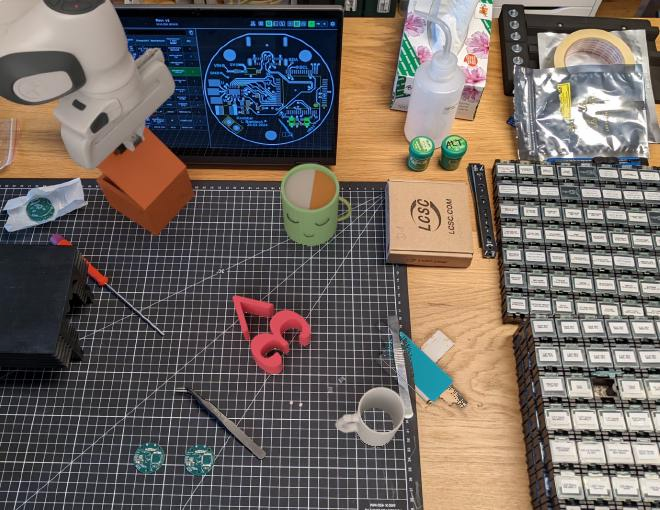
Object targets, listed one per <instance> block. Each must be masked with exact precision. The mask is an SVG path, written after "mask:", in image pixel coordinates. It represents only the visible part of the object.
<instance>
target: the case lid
mask: <svg viewBox="0 0 660 510" xmlns="http://www.w3.org/2000/svg"><path fill="white" fill-rule="evenodd" d="M143 136H144V138H145V140H144V141H143V142H142V143H141V144H140V145H139V146H138V147H137V148H136V149H135V150H134V151H131V150H129V149H127V148H126V147H125V145H124V144H123V143H121V144H120V145H119V146H118V147H117V148H116V149H115V150H114V151H113V152H112V153H111V154H110V155H109V156H108V157H107V158H106V159H105V160H104V161H103V162H101V163H100V164H99V165H98V166H97V167H96V168H97V169H98V170H100V172H102V174H103V173H104V174H105V175H106V176H107V177H108V178H109V179H111V180H112V181H113V182H114V183H115V184H116V185H117V186H118V187H119V188H120V189H121V190H122V191H124V192H125V193H126V194H127V195H128V196H129V197H130V198H131V199H132V200H133V201H134V202H135V203H137V204H138V205H139V206H140V207H141V208H142V209H143V210H145V209H146V208H147V207H148V206H149V205H150V204H151V203H152V202H153V201H154V200H155V199H156V198H157V197H158V196H159V195H160V194H161V193H162V192H163V191H164V190H165V189H166V187H167V186H168V185H169V184H170V183H171V182H172V181H173V180H174V179H175V178H176V177H177V176H178V175H179V174H180V173H181V172H182V171H183V170H184V169H185V168H186V169H187V165H186V164H185V163H184V162H183V161H182V160H181V159H180V158H179V157H177V156H176V154H175V153H173V152H172V150H170V148H168V146H166V144H164V143H163V142H162V140H160V139H159V137H158V136H156V135H155V133H153V132H152V131H151V129H149V128H148V127H147V126H146V125H145V127H144V132H143Z"/></svg>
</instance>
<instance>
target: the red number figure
mask: <svg viewBox="0 0 660 510" xmlns="http://www.w3.org/2000/svg"><path fill="white" fill-rule="evenodd" d="M232 301H233V305H234V308H235V311H236V314H237V318H238V322H239V323H240V327H241V331H242V334H243V337H244V340H245V342H246V341H247V340H248V339H249V338H251V335H250V332H249V328H248V324H247V321H246V318H245V313H243V312H247V313H250V314H255V315H259V316H263V317H268V318H271V317H272V316H273V315H274V314H275V315H274V316H273V317H272V319H271V320H270V321H269V327H270V328H269V329H270V333H268V332H263V333H259V334H257V335H255V336H254V337H253V339H251V342H250V351H251V354H252V357H253V360H255V361H254V363H255V362H256V363H257V364H256V363H255V364H256V366H257V365H258V366H259V367H260V368H261V369H263V370H264V371H265V372H267V373H270V374H278V373H280V372H281V371H282V369H283V370H284V366H283V364H284V363H283V359H282V356H281V355H280V353H279V351H276V352H275V353H274V354H273V355H271V356H269V357H263V356H264V355H265V354H266V353H267V352H268V351H269V350H271V349H274V348H276V349H280V350H281V351H282V352H284V353H285V354H287V353H288V352H290V345H289V342H288V341H287V340H286V339H284V336H283V337H282V334H283V333H284V332H285V331H286V330H288V329H289V328H296V329H298V330H300V331H301V333H300V334H299V335H298V341H299V342H298V343H299V345H300V344H301V345H304V346H306V345H308V344H309V343H310V341H311V342H312V330H311V326H310V324H309V323H308V322H307V320H306V319H305V318H304V317H302V315H301V314H300V313H299V314H298V313H297V312H295V311H294V310H289V309H284V310H283V309H282V310H280V311H278V312H276V313H275V308H274V307H275V305H274V303H270V302H266V301H263V300H258V299H255V298H254V299H253V298H248V297H244V296H241V295H236V294H234V295H233V296H232ZM282 352H281V353H282ZM258 366H257V367H258ZM259 367H258V368H259ZM260 368H259V369H260ZM261 369H260V370H261ZM264 371H263V372H264ZM265 372H264V373H265Z"/></svg>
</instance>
